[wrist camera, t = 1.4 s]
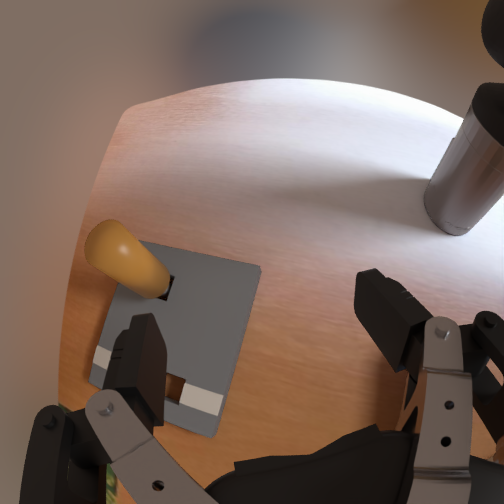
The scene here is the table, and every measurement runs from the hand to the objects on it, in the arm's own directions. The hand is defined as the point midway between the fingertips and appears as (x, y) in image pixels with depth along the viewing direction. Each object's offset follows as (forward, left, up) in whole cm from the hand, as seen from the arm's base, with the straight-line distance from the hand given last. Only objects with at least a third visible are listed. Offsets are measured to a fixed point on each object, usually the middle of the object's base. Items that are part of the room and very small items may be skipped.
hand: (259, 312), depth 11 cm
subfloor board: (+2, -13, -21) cm, 25 cm away
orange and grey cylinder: (-3, -15, -21) cm, 26 cm away
